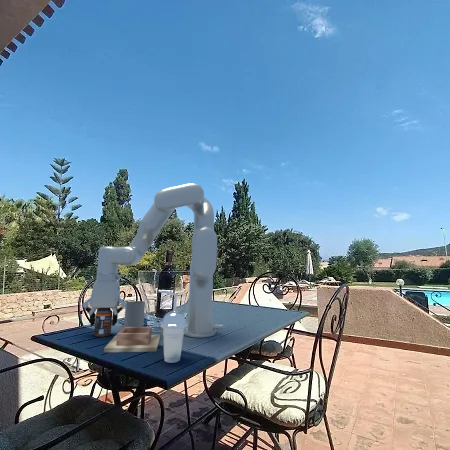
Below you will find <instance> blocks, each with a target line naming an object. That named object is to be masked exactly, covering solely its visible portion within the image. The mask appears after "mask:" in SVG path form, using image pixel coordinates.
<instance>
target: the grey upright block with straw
mask: <svg viewBox="0 0 450 450" xmlns="http://www.w3.org/2000/svg"><path fill="white" fill-rule="evenodd" d="M157 293H162V294H166V295H171V296H174V297H173V310H171V311H169V312H167V313H166V314H165V315H164V316H163V318H162V321H160V322H159V325H158V326H159V327H160V328H161V333H162V340H163V341H162V343H163V356H164V357H163V358H164V359H163V360H164V362H166V363H177V362H179V361H181V354H182V347H183V342H184V336H185V335H184V333H185V329H186V328H188V320H186V317H185V315H184V314H183V313H182V312H180V311H178V310H177V301H178V300H177V299H178V296H177V294H176V293H175V292H173V291H168V290H162V289H158V291H157Z"/></svg>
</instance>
